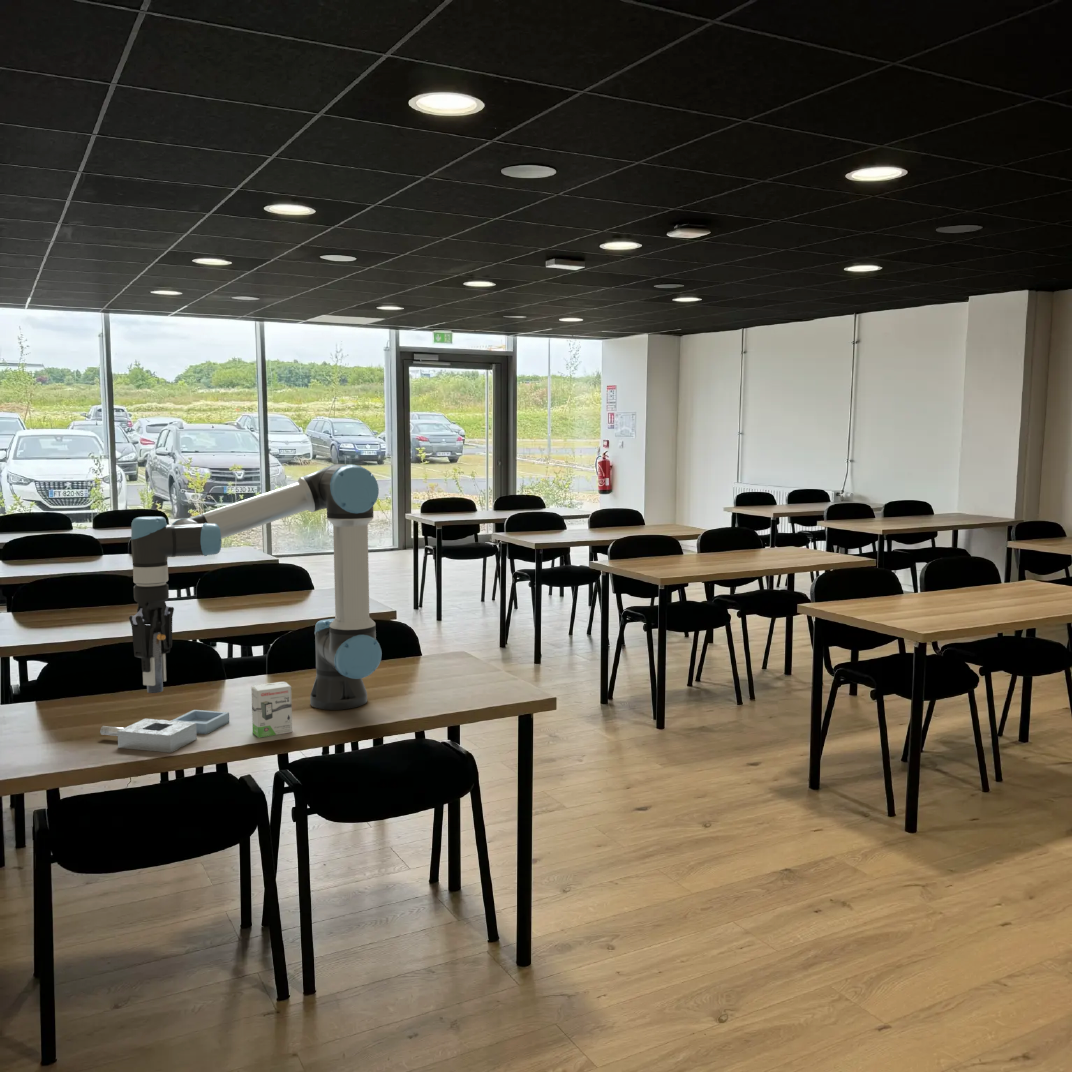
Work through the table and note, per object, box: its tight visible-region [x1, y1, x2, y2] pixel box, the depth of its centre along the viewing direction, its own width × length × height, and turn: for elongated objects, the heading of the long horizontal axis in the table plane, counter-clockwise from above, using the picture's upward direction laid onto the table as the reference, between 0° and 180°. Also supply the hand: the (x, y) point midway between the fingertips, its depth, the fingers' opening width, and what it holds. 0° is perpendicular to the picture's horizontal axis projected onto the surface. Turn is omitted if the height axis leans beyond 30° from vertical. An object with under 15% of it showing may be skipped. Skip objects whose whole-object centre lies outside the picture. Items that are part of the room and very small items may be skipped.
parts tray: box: [170, 709, 230, 735], centre depth 237 cm, size 10×10×2 cm
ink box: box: [250, 681, 293, 739], centre depth 232 cm, size 9×5×12 cm, turn 123°
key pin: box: [146, 631, 166, 694], centre depth 222 cm, size 6×3×14 cm, turn 76°
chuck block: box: [99, 718, 198, 754], centre depth 225 cm, size 22×10×4 cm, turn 76°
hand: (154, 682), depth 223 cm, fingers closed on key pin, 3 cm apart
